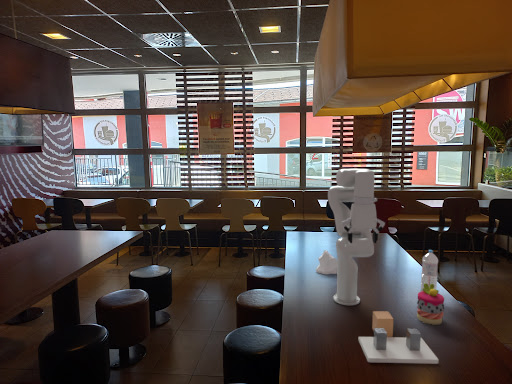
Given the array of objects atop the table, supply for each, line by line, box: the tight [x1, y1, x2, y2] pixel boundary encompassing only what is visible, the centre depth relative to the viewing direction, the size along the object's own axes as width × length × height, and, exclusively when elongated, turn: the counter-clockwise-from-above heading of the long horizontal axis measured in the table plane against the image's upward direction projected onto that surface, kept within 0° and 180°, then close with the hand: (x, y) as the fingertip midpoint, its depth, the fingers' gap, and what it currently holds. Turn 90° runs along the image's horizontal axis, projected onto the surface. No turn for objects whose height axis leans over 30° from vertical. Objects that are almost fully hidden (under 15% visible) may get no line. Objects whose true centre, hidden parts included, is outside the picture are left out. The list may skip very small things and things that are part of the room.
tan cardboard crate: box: [371, 310, 394, 337], centre depth 141 cm, size 6×6×8 cm
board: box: [358, 336, 440, 365], centre depth 129 cm, size 14×24×2 cm, turn 87°
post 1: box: [373, 328, 387, 350], centre depth 129 cm, size 4×4×8 cm
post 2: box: [405, 328, 422, 351], centre depth 128 cm, size 4×4×8 cm
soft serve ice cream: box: [315, 249, 337, 275], centre depth 210 cm, size 12×15×14 cm
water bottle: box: [420, 249, 439, 292], centre depth 170 cm, size 7×7×25 cm
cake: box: [416, 283, 445, 326], centre depth 152 cm, size 10×11×15 cm
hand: (362, 242), depth 143 cm, fingers open, 9 cm apart
